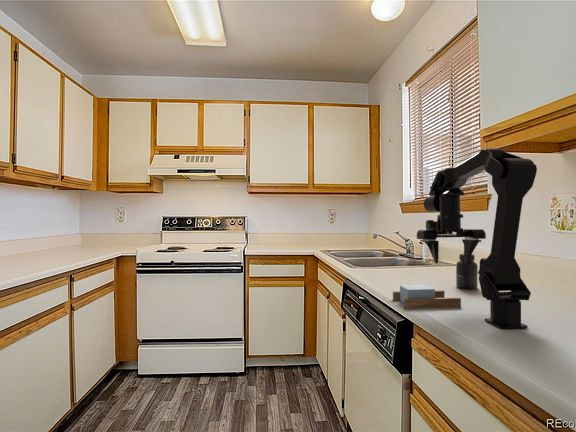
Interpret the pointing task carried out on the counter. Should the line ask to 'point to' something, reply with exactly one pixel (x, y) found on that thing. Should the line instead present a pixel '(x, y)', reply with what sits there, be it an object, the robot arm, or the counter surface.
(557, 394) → the counter surface
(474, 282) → the supplement bottle
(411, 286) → the slate block
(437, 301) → the trap channel
